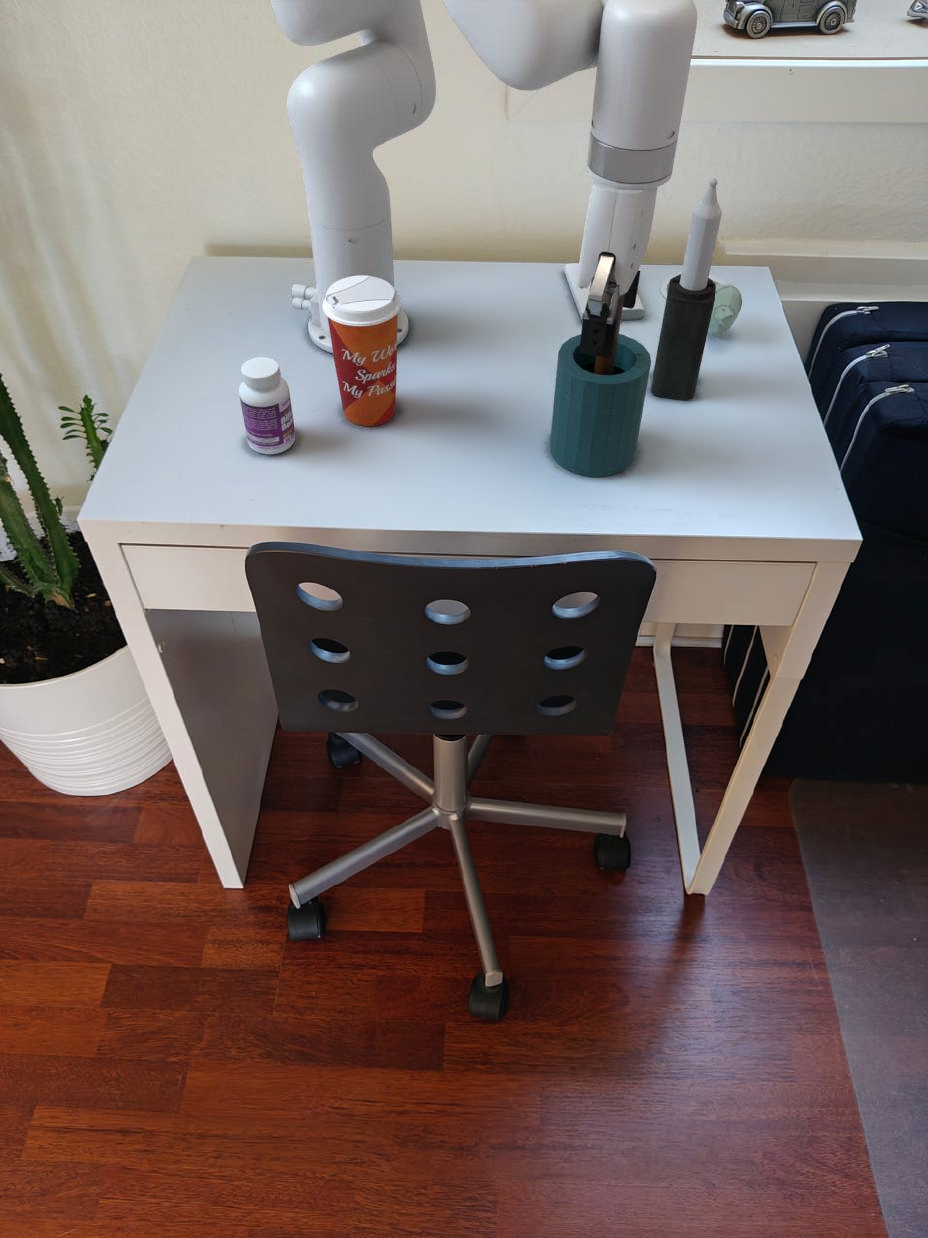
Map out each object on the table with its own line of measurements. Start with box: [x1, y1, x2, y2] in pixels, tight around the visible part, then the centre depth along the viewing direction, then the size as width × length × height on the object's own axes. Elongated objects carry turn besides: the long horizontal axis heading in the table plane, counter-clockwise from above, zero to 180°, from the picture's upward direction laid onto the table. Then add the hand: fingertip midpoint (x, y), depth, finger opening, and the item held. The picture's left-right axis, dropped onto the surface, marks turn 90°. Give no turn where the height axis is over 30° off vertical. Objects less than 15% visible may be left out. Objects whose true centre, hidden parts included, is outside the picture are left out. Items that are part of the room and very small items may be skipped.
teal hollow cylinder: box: [549, 333, 652, 478], centre depth 107 cm, size 9×9×12 cm
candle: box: [650, 177, 723, 401], centre depth 110 cm, size 5×5×25 cm
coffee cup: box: [323, 275, 402, 427], centre depth 110 cm, size 8×8×15 cm
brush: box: [594, 284, 625, 375], centre depth 103 cm, size 4×4×19 cm
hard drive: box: [564, 262, 646, 322], centre depth 132 cm, size 2×8×12 cm
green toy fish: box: [708, 283, 743, 337], centre depth 124 cm, size 8×4×7 cm, turn 2°
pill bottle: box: [238, 356, 296, 455], centre depth 108 cm, size 5×5×10 cm
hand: (607, 328), depth 100 cm, fingers open, 9 cm apart
